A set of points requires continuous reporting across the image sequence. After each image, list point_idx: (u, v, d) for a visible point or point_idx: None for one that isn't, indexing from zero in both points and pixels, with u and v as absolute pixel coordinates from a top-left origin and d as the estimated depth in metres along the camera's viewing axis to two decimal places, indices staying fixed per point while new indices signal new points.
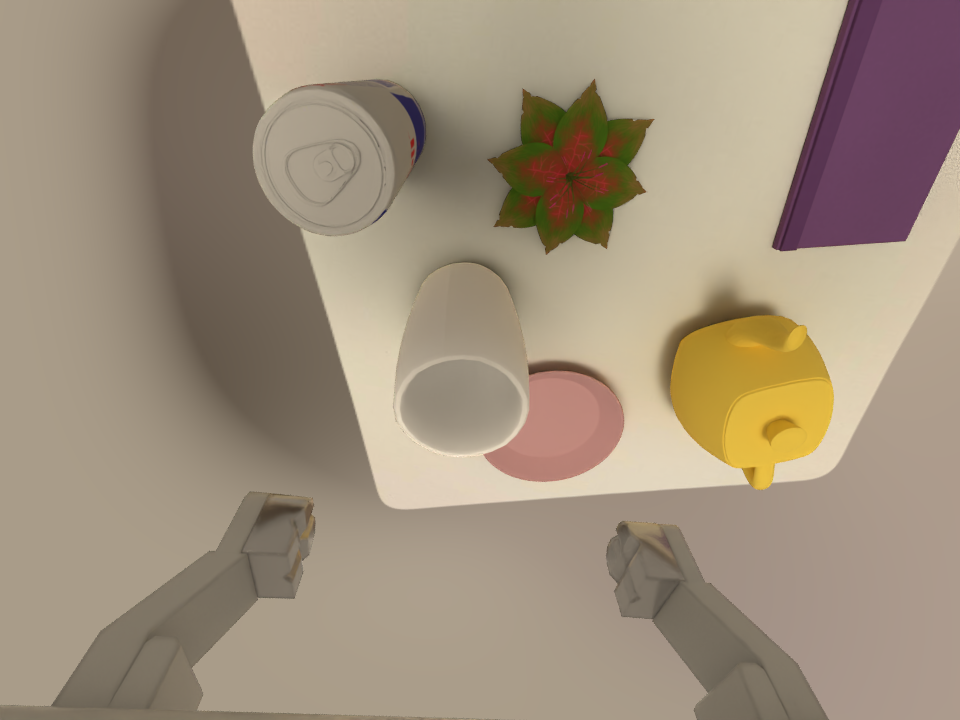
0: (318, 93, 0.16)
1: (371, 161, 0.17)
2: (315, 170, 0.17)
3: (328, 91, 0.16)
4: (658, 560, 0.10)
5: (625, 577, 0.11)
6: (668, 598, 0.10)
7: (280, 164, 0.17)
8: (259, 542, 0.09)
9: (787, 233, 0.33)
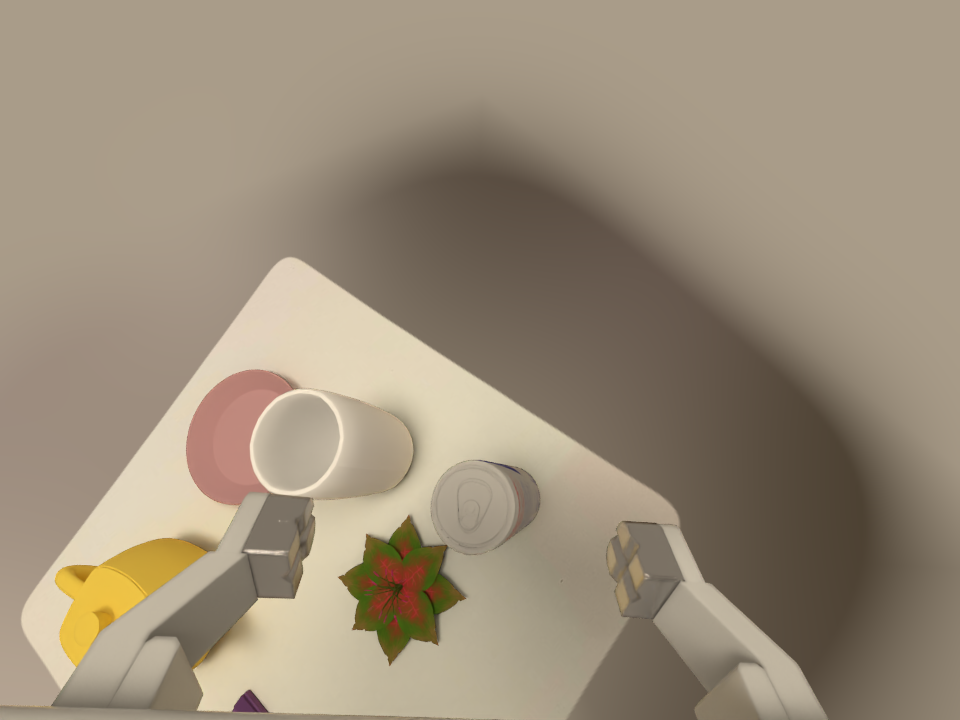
0: (501, 539, 0.26)
1: (456, 533, 0.27)
2: (474, 501, 0.27)
3: (498, 544, 0.26)
4: (658, 560, 0.10)
5: (625, 577, 0.11)
6: (668, 598, 0.10)
7: (491, 485, 0.27)
8: (259, 541, 0.09)
9: (250, 707, 0.40)
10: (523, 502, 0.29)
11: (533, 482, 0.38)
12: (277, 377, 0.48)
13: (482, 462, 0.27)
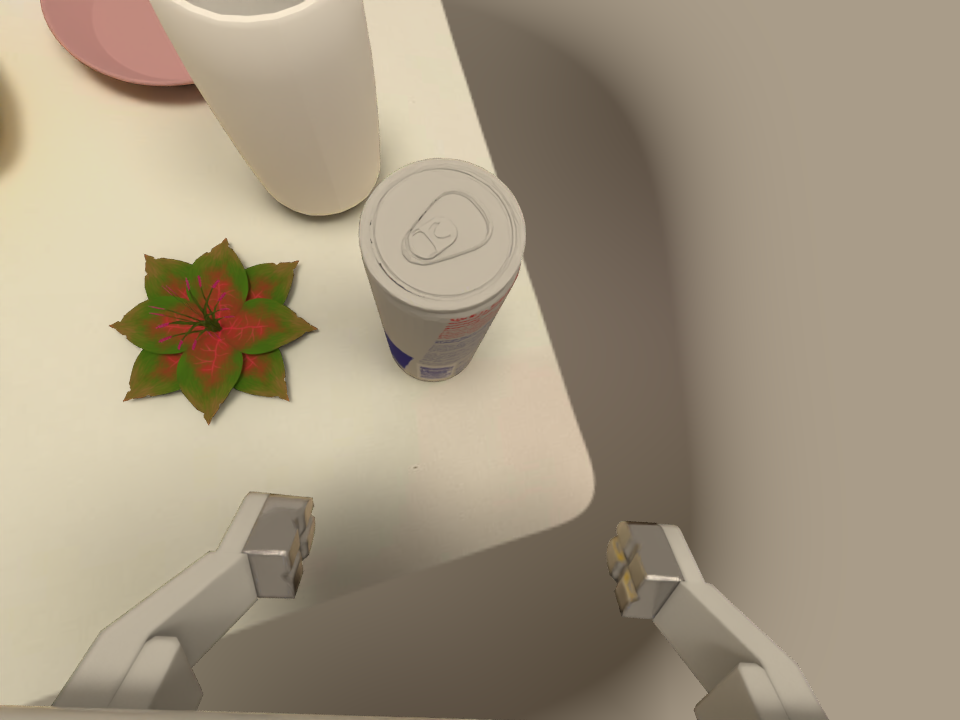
0: (451, 305, 0.14)
1: (389, 247, 0.14)
2: (454, 227, 0.14)
3: (440, 309, 0.14)
4: (658, 560, 0.10)
5: (625, 577, 0.11)
6: (668, 598, 0.10)
7: (496, 229, 0.15)
8: (258, 541, 0.09)
9: None
10: (498, 309, 0.17)
11: None
12: None
13: (508, 191, 0.15)
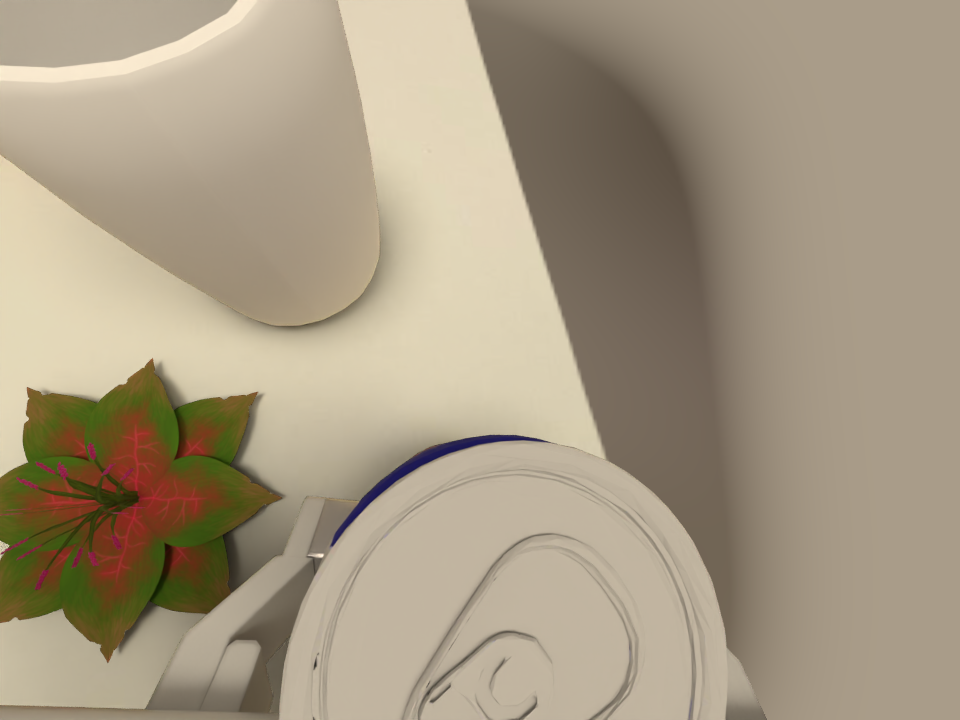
0: None
1: None
2: (545, 661, 0.05)
3: None
4: None
5: None
6: None
7: (651, 643, 0.06)
8: (322, 546, 0.10)
9: None
10: None
11: None
12: None
13: (677, 526, 0.06)
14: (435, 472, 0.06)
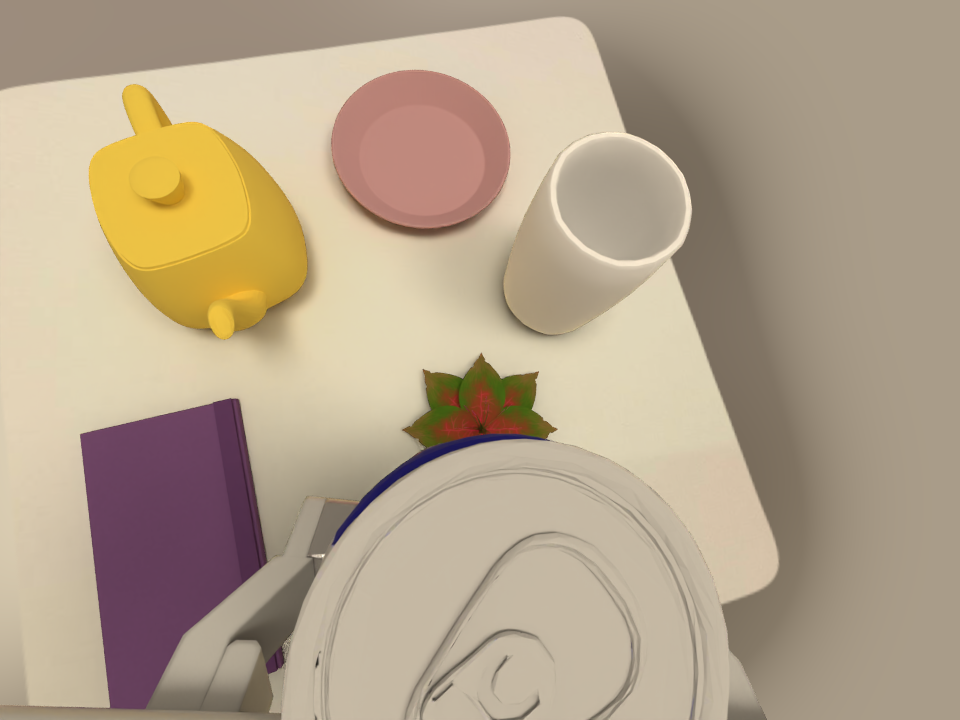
0: None
1: None
2: (548, 659, 0.05)
3: None
4: None
5: None
6: None
7: (652, 641, 0.06)
8: (322, 546, 0.10)
9: (232, 417, 0.31)
10: None
11: None
12: (501, 125, 0.36)
13: (679, 525, 0.06)
14: (437, 471, 0.06)
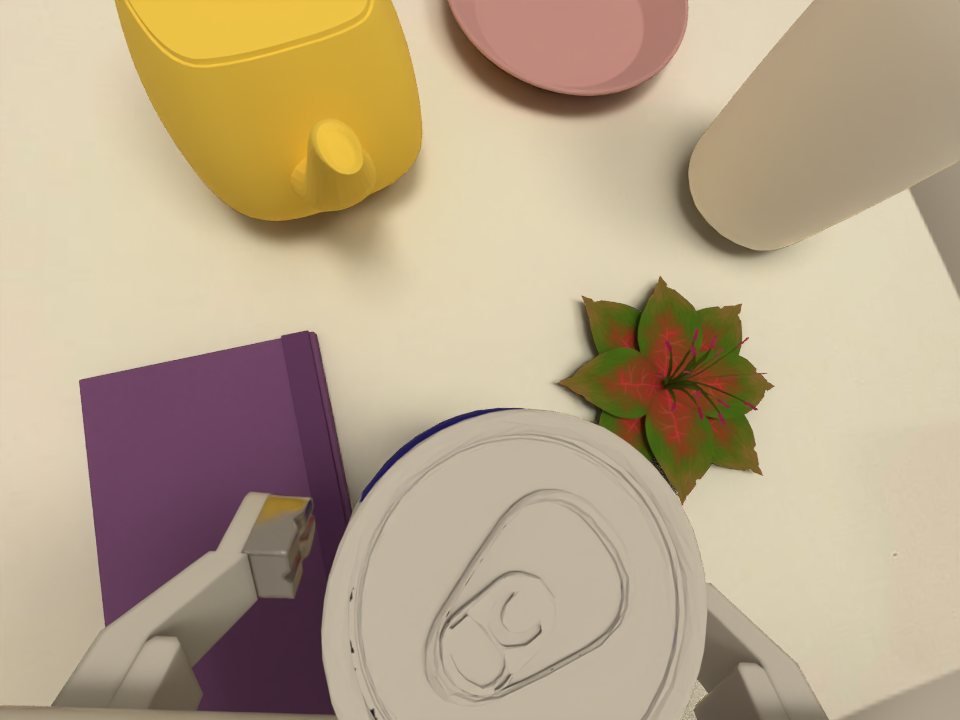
0: None
1: (394, 659, 0.06)
2: (548, 596, 0.06)
3: None
4: None
5: None
6: None
7: (639, 583, 0.06)
8: (259, 542, 0.09)
9: (311, 359, 0.20)
10: None
11: None
12: None
13: (663, 483, 0.07)
14: (452, 435, 0.06)
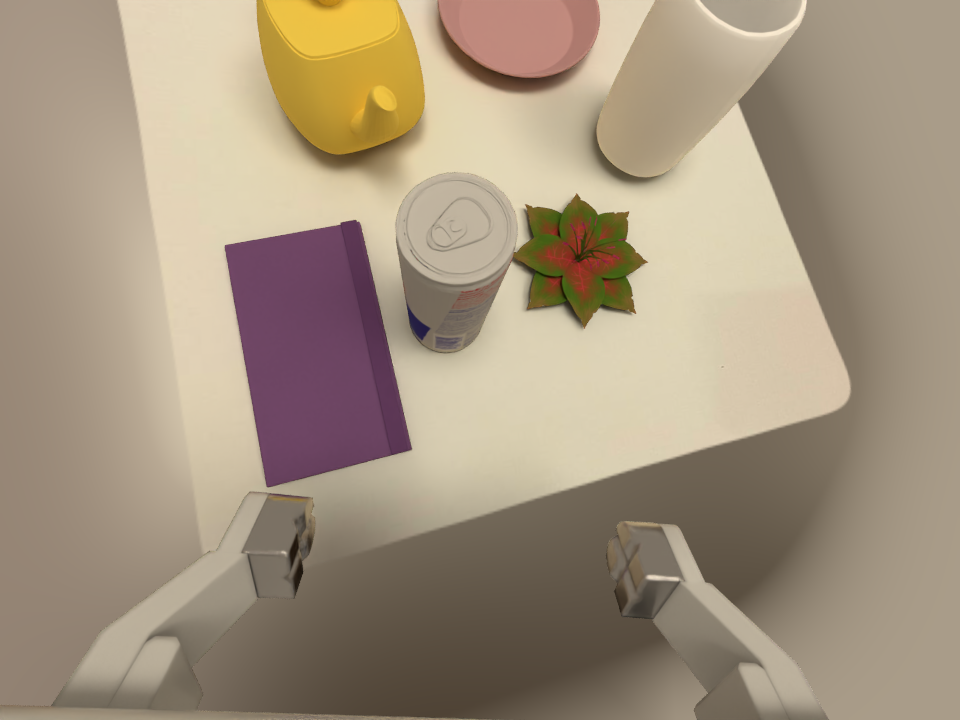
0: (462, 280, 0.19)
1: (417, 238, 0.19)
2: (464, 224, 0.19)
3: (454, 283, 0.19)
4: (658, 560, 0.10)
5: (625, 577, 0.11)
6: (668, 598, 0.10)
7: (495, 225, 0.20)
8: (258, 541, 0.09)
9: (358, 236, 0.33)
10: (497, 286, 0.22)
11: None
12: None
13: (505, 197, 0.20)
14: (435, 177, 0.20)
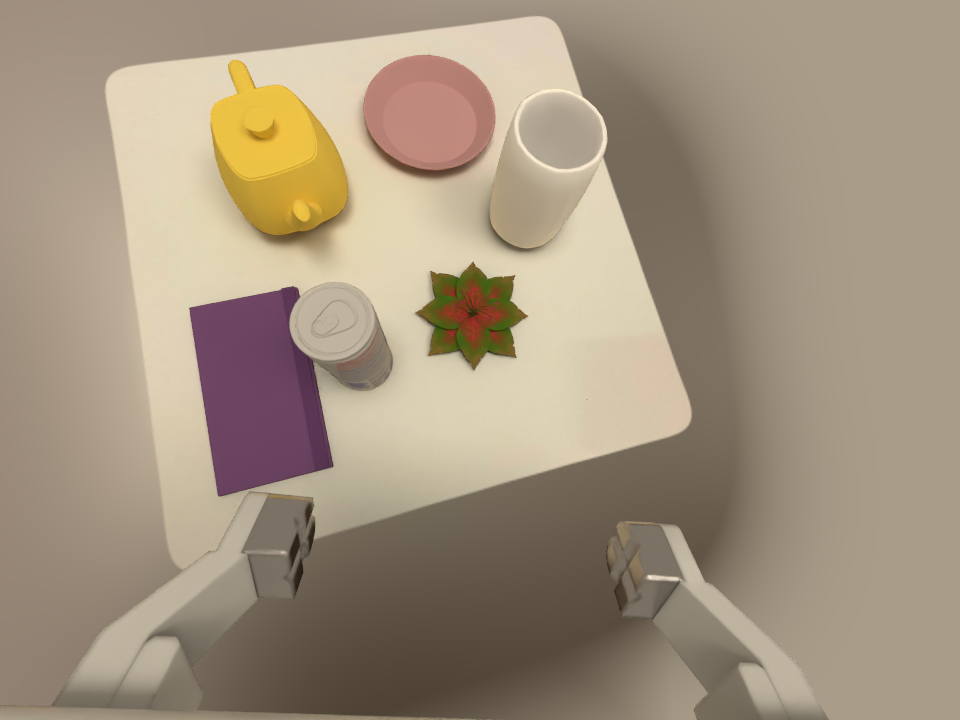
0: (333, 358, 0.28)
1: (304, 329, 0.29)
2: (337, 318, 0.29)
3: (328, 360, 0.28)
4: (658, 560, 0.10)
5: (625, 577, 0.11)
6: (668, 598, 0.10)
7: (359, 318, 0.29)
8: (259, 542, 0.09)
9: (295, 299, 0.43)
10: (371, 355, 0.32)
11: (390, 364, 0.41)
12: (488, 96, 0.49)
13: (367, 298, 0.29)
14: (318, 286, 0.29)
